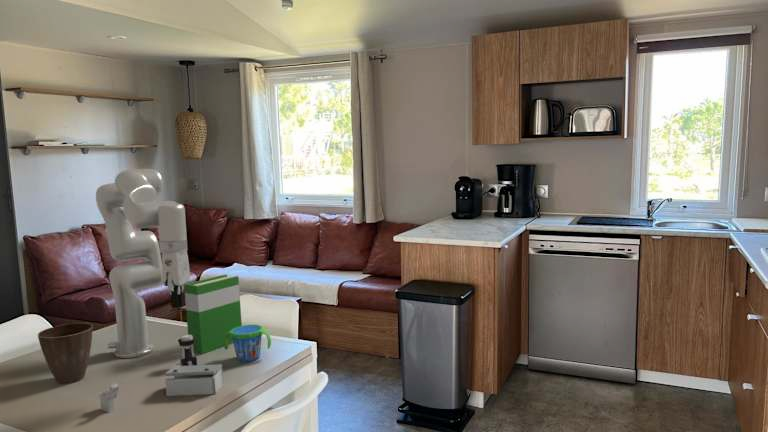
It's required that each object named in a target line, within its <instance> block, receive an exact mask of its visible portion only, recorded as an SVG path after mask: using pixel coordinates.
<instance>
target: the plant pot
mask: <svg viewBox="0 0 768 432" xmlns="http://www.w3.org/2000/svg"><path fill="white" fill-rule="evenodd" d="M93 327H94V326H93V324H91V323H88V322H77V323H76V322H73V323H67V324H66V323H65V324H59V325H56V326H52V327H48V328H46V329H43V330H41V331H39V332H38V333H37V337H38V342H39V346H40V348H41V351H42V355H43V356H44V359H45V362H46V364H47V367H48V369H49V371H50V373H51V374H52V376H53V378H54V379H55V381H56V383H58V384H61V385H66V384H73V383H76V382H79V381H81V380H83V379H84V378H85V375H86V371H87V368H88V364H89V360H90V356H91V355H90V354H91V350H92V349H91V348H92V340H93V329H94V328H93Z"/></svg>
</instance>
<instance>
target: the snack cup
mask: <svg viewBox="0 0 768 432" xmlns="http://www.w3.org/2000/svg"><path fill="white" fill-rule="evenodd" d="M229 334H230V335H231V337H232V339H233V344H232V345H233V347H234V352H235V355H236V356H235V357H236V359H237V361H239V362H243V363H248V362H253V361H255V360H258V359H260V357H261V349H262V336H263V335H265V336H266V338H267V349H268V350H269V349H270V348H271V345H272V339H271V336H270V333H269V332H268V331H267V330H266V329H264V328H263V327H262V325H259V324H245V325H244V324H242V326H239V327H236V328H233V329H232V330H231V331H230V332H228V333H227V334H226V336H225V338H224V347H223V348H224V349H225V350H228V349H229V345H228V344H227V337H228V335H229ZM262 334H263V335H262Z"/></svg>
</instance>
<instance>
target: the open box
mask: <svg viewBox="0 0 768 432" xmlns="http://www.w3.org/2000/svg"><path fill="white" fill-rule="evenodd" d="M223 372H224V371H223V367H222V368H220V369H219V370H218V371H217V372H216V373H215V374H205V375H180V376H173V377H174V378H166V379H165V382H164V383H165V393H166V397H174V396H175V397H176V396H196V395H197V396H199V395H200V396H201V395H216V394H217V393H218V392H219V390H220V389H221V388H222V386H223V384H224V377H223V376H224V375H223V374H224V373H223Z"/></svg>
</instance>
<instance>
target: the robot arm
mask: <svg viewBox="0 0 768 432" xmlns="http://www.w3.org/2000/svg"><path fill="white" fill-rule="evenodd" d="M163 187H164V179H163V177H162V175H161V173H160V172H159V171H158V170H156V169H153V168H144V169H143V168H142V169H141V168H139V169H126V170H122V171H121V172H119V173H118V174H117V175H116V176H115V179H114V182H113V183H112V182H111V183H106V184H102V185H100V186H99V187H98V188H97V189H96V191H95V202H96V206H97V208H98V211H99V213H100V215H101V217H102V218H103V221H104V223H105V224H104V225H105V229H106V234H107V235H106V236H107V241H108V242H107V243H108V246H109V252H110V256H111V257H112V259H113V260H115V261H118V262H119V261H120V262H121V261H123V262H124V261H129V260H135V259H136V260H137V259H144V261H139V262H131V263H124V264H119V265H116V266H115V267H113V268H112V269H111V270H110V272H109V276H108V277H109V283H110V286H111V289H112V290H111V291H112V293H113V294H112V295H113V300H114V308H115V319H116V329H117V331H116V332H117V341H115V340H112V341H111V340H110V341H108V343H107V347H108V349H115V351H114V356H115V357H117V358H119V359H130V358H131V359H132V358H137V357H141V356H145V355H147V354H150V353H151V352H152V351H154V344H152V343H149V335H148V326H147V325H148V324H147V312H146V311H147V310H146V303H145V300H144V298H143V297H142V296H141V295H140V294H139V293H137V291H139V290H143V289H150V288H154V287H157V286H160V285H161V284H162V283H163V285H164V286H165V287H167V292H169V296H170V305H171V306H170V307H171V308H182V307H185V306H184V305H185V301H184V300H185V296H184V284H186V283H187V282H188V281H189V280H190V279H191V271H190V263H189V262H190V261H189V255H188V238H187V224H186V223H187V222H186V220H187V219H186V209H185V205H183V204H182V203H177V202H176V201H174V200H162V201H155V200H156V198H157V197H158V196H159V194H160V193H161V192H162V190H163ZM134 228H136V229H150V228H158V238H157V235H156V234H155V233H154V232H152V231H150V230H140V231H135V230H134ZM161 254H162V255H161Z"/></svg>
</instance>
